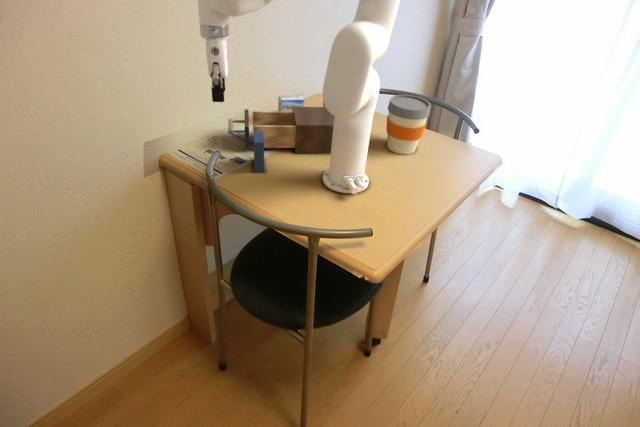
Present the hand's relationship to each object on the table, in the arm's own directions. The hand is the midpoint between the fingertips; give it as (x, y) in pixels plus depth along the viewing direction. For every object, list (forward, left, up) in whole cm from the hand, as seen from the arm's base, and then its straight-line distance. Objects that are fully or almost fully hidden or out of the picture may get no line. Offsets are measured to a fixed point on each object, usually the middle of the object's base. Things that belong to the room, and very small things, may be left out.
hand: (219, 95), depth 126 cm
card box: (-16, -8, -15) cm, 23 cm away
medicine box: (+12, -25, -15) cm, 31 cm away
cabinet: (-5, -31, -15) cm, 34 cm away
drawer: (-2, -13, -14) cm, 19 cm away
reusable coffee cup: (-12, -55, -15) cm, 58 cm away
